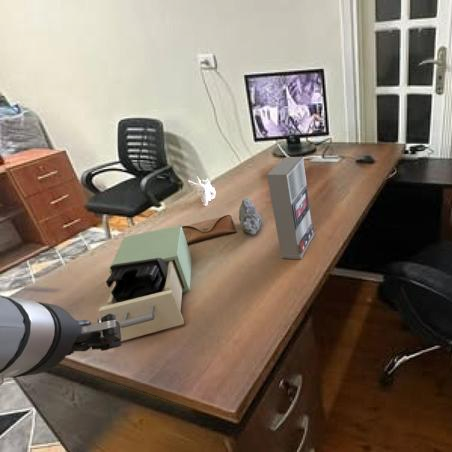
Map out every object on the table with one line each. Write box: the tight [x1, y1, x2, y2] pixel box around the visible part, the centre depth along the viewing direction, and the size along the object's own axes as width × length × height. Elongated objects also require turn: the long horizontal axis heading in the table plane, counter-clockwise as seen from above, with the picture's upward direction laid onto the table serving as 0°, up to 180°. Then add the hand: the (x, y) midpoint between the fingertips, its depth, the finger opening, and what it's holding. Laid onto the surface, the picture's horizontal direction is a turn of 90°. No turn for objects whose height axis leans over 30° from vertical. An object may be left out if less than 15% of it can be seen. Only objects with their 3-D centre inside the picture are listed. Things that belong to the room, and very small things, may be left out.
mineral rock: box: [238, 197, 262, 236], centre depth 113 cm, size 13×11×10 cm
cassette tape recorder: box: [266, 156, 316, 260], centre depth 97 cm, size 14×6×25 cm, turn 167°
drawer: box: [98, 260, 185, 342], centre depth 78 cm, size 20×14×9 cm
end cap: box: [105, 258, 167, 303], centre depth 76 cm, size 10×7×7 cm
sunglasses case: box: [181, 214, 237, 246], centre depth 113 cm, size 18×7×7 cm, turn 115°
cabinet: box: [108, 224, 193, 294], centre depth 91 cm, size 17×15×11 cm
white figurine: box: [187, 175, 217, 207], centre depth 137 cm, size 12×8×10 cm, turn 169°
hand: (115, 338), depth 57 cm, fingers closed
